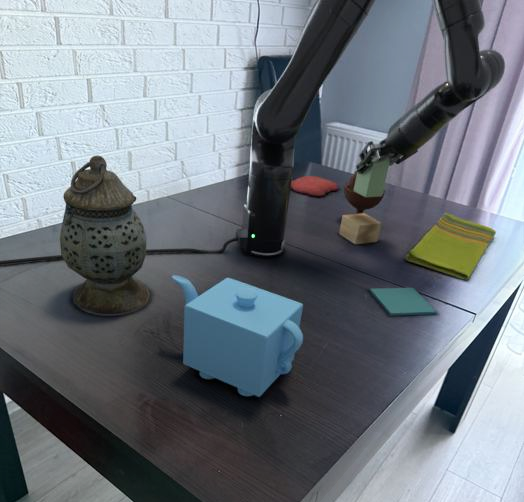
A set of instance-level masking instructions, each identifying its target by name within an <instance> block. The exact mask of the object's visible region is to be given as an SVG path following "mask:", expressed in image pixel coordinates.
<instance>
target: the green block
mask: <svg viewBox="0 0 524 502" xmlns="http://www.w3.org/2000/svg"><path fill="white" fill-rule="evenodd" d="M377 153H378V156H379V152H378V151H377ZM379 158H380V156H379ZM370 160H373V157H372V158H371V159H370ZM360 162H361V159H360V158H359V162H358V164H359V163H360ZM389 165H390V158H387V159H385V160H383V161H382V162H380V163H374V164H372V165H371V166H370V167H369V168H367V169H366V170H365V171H364V172H363V173H362V174H358V172H357V176H356V181H355V186H354V191H355V192H357V193H359V194H360V195H362V196H364V197H379V196H382V194H383V190H384V191H385V189H384V188H385V185H386V182H387V181H386V180H387V178H388V177H387V176H388V173H389V169H390V166H389Z"/></svg>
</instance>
